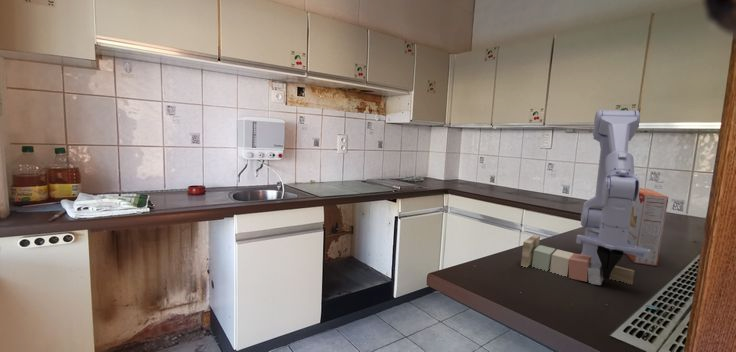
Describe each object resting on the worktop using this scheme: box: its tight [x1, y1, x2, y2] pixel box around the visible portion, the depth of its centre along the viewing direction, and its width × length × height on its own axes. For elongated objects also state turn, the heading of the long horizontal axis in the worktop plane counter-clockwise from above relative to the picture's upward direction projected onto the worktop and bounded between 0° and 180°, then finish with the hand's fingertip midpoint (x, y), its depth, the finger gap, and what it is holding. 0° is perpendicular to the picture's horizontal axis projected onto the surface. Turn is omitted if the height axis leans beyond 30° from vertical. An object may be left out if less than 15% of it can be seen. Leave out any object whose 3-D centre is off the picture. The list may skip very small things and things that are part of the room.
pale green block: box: [531, 244, 556, 272], centre depth 93 cm, size 6×4×5 cm, turn 139°
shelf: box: [520, 234, 635, 286], centre depth 88 cm, size 10×24×7 cm, turn 48°
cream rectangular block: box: [549, 248, 574, 278], centre depth 90 cm, size 6×4×5 cm, turn 139°
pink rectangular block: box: [568, 252, 591, 283], centre depth 87 cm, size 6×4×5 cm, turn 138°
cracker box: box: [624, 187, 669, 267], centre depth 102 cm, size 14×6×21 cm, turn 157°
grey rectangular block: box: [588, 261, 605, 286], centre depth 85 cm, size 6×2×4 cm, turn 139°
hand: (606, 277), depth 83 cm, fingers closed
